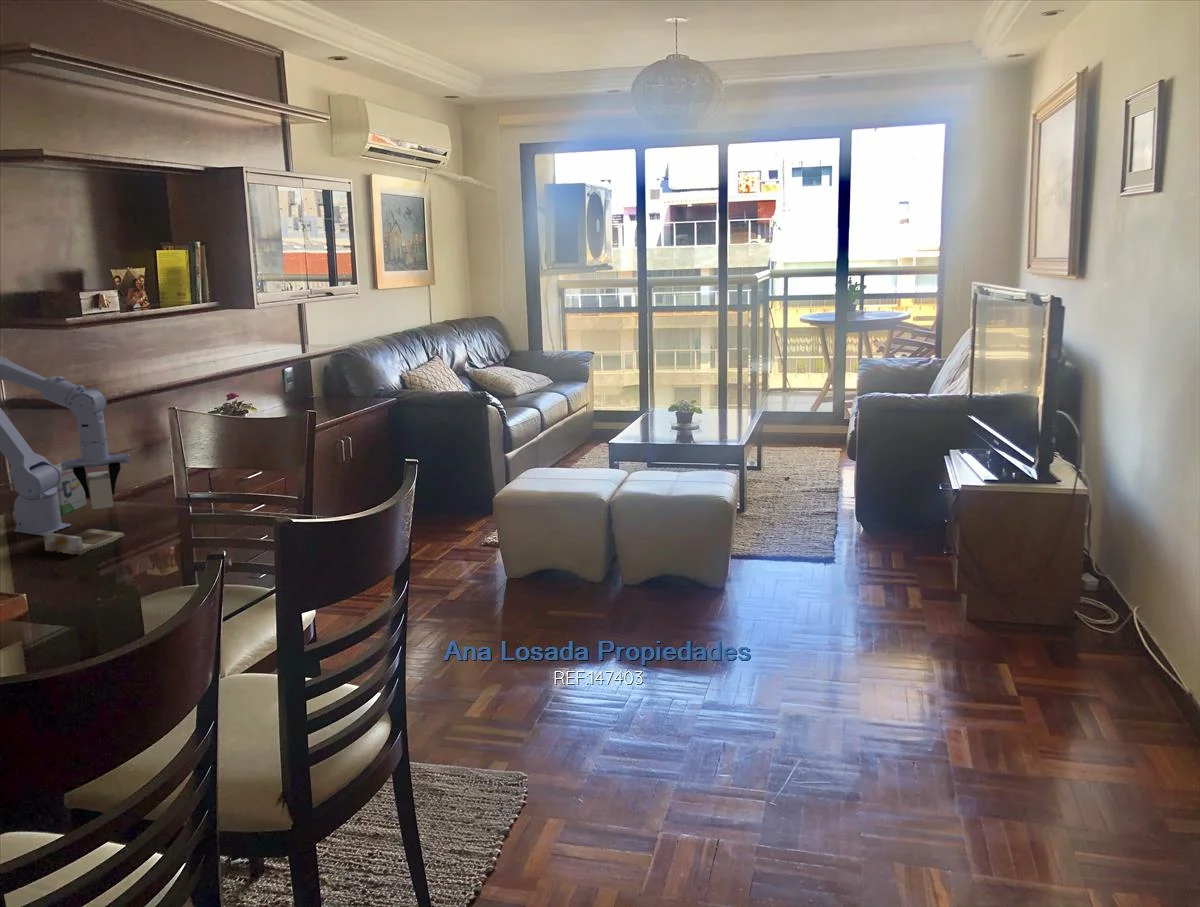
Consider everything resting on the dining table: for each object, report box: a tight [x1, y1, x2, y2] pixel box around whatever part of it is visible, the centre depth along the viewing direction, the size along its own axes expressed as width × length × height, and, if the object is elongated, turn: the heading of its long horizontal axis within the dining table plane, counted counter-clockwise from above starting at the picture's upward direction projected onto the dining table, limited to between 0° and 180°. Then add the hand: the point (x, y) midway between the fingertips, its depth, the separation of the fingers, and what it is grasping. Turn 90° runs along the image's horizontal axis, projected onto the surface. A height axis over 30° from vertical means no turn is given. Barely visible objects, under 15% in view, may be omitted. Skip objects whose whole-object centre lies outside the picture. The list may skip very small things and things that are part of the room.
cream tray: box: [43, 528, 125, 556], centre depth 219 cm, size 10×13×4 cm
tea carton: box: [86, 470, 114, 510], centre depth 227 cm, size 5×8×7 cm, turn 30°
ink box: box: [53, 462, 87, 516], centre depth 243 cm, size 9×5×12 cm, turn 168°
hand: (100, 495), depth 227 cm, fingers closed on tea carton, 5 cm apart
